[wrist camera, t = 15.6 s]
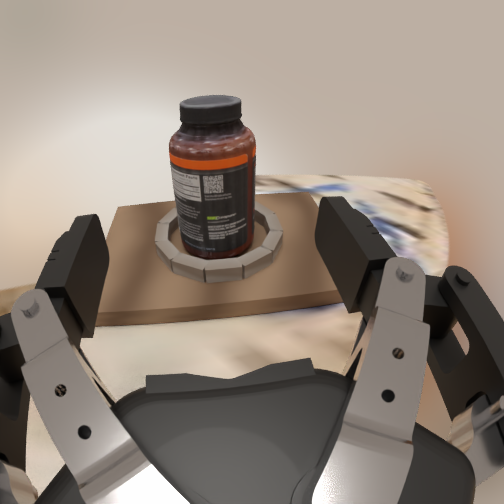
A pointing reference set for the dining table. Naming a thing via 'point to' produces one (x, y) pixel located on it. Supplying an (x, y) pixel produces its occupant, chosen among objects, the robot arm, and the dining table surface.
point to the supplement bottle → (214, 177)
